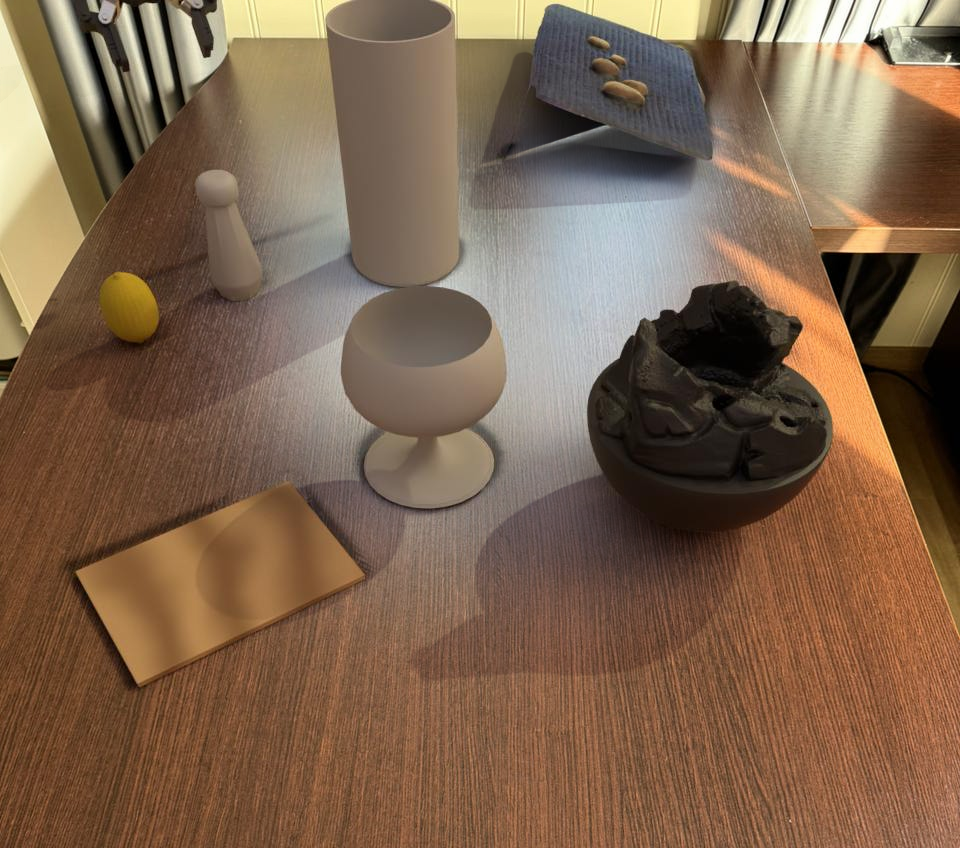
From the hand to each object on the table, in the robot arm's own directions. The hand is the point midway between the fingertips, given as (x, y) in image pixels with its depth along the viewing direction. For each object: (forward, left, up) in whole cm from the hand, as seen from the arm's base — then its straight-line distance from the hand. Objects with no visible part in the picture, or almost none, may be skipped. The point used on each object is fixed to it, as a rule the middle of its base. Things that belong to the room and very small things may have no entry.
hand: (167, 61), depth 96 cm
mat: (+63, +2, -20) cm, 66 cm away
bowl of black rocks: (+17, -66, -20) cm, 71 cm away
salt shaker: (-2, -12, -20) cm, 23 cm away
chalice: (0, -49, -20) cm, 53 cm away
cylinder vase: (+17, -17, -20) cm, 31 cm away
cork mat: (-22, -51, -20) cm, 59 cm away
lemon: (-15, -15, -20) cm, 29 cm away
